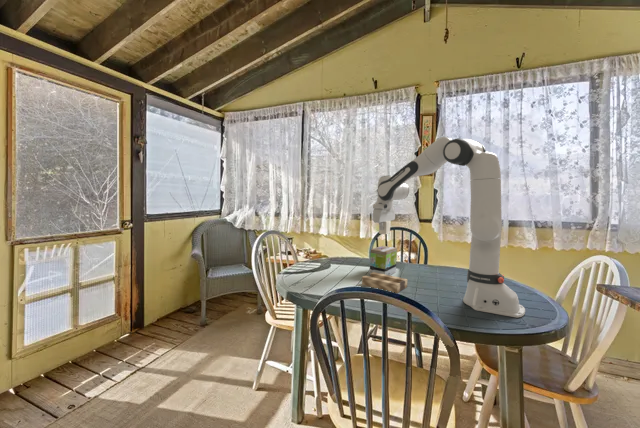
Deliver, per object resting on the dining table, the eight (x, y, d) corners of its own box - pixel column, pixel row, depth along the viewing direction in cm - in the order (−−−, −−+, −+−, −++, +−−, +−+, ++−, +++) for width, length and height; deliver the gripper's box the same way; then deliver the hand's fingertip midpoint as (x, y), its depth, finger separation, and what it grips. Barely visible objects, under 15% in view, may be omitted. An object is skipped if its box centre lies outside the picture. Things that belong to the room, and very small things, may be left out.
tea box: (385, 278, 162) (386, 251, 161) (368, 275, 168) (369, 249, 167) (396, 272, 174) (397, 247, 173) (380, 269, 180) (381, 245, 179)
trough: (407, 287, 148) (407, 279, 148) (397, 293, 140) (397, 285, 139) (373, 279, 160) (373, 272, 160) (361, 284, 151) (362, 276, 151)
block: (389, 233, 169) (390, 221, 169) (386, 234, 166) (386, 221, 165) (382, 232, 172) (383, 220, 171) (378, 233, 169) (379, 221, 168)
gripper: (388, 203, 178) (387, 227, 179) (371, 205, 162) (370, 230, 163) (398, 204, 174) (397, 228, 175) (381, 206, 158) (380, 231, 159)
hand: (384, 229), depth 169 cm, fingers closed on block, 4 cm apart
